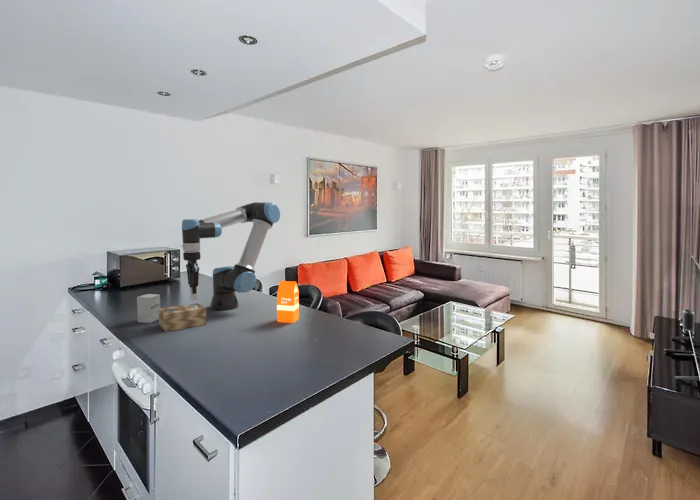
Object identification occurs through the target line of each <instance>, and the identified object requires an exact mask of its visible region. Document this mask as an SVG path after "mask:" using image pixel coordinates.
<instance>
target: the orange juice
mask: <svg viewBox="0 0 700 500" xmlns="http://www.w3.org/2000/svg"><path fill="white" fill-rule="evenodd" d="M299 294H300V291H299V286H298V283H297V281H289V280H288V281H287V280H280V281H279V284H278V289H277V293H276V322H279V323H287V324H289V323H292V324H294V323H296V321H298V320H299V317H300V316H299V315H300V313H299V312H300V311H299V310H300V307H299V306H300V298H299V297H300V295H299Z"/></svg>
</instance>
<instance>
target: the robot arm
mask: <svg viewBox="0 0 700 500" xmlns="http://www.w3.org/2000/svg"><path fill="white" fill-rule="evenodd" d="M280 218H281V210H280V207H279V206H278V204H276V203H275V202H270V201H267V202H266V201H265V202H263V201H262V202H258V201H257V202H252V203H247V204H245V205H241V206H238V207H237V208H235V209H234V210H230V211H227V212H224V213H220V214H217V215H213V216H210V217H206V218H202V219H200V220H199V219H198V218H186V219H183V220H182V221H181V234H182V236H181V237H182V245H181V247H182V251H183V254H182V255H183V257H182V259H183V261H187V263H186V264H185V268H186V275H187V284H188V285H189V292H190V294H189V295H190V296H189V297H190V301H191V302H193V301H198V286H199V275H200V267H199V264H198V263H197V262H198V261H199V260H201V252H200V251H201V239H213V238H219V237H221V235H222V233H223V228H226V227H229V226H233V225H236V224H239V223H241V224H244V223H252V224H253V225H252V228H251V229H250V230H251V231H250V233H249V236H248V238H247V241H246V244H245V246H244V249H243V251H242V253H241V256H240V259H239V261H238V263H236V264H234V266H232V265H230V266H229V265H227V266H220V267H214V269H212V288H213V290H212V292H213V293H212V298H211V300H210V309H211V310H213V311H228V310H233V309H236V308H238V307H239V301H238V297H237V296H236V295H237V294H236V292H237V293H243V294H244V293H245V294H247V293H249V292H251V291H252V290H253V289H254V287H255V286H256V283H257V277H256V270H255V265H256V263H257V260H258V257H259V254H260V253H261V249H262V246H263V244H264V241H265V239H266V236H267V234H268V231H269V230H271V229H272V228H273V225H274V224H275V223H278V222H279V221H280Z"/></svg>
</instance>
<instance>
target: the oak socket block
mask: <svg viewBox="0 0 700 500" xmlns="http://www.w3.org/2000/svg"><path fill="white" fill-rule="evenodd" d="M192 305H197V306H198V308H192V309H189V307H190V306H192ZM170 308H174V309H176V311H171V312H166V310H167V309H170ZM158 325H160V326H161V327H162V328H161V327H160V326H159V327H160V328H161V329H162V330H163V331H164V332H165V333H166V332H167V333H168V332H172V331H179V330H183V329H188V328H194V327H200V326H205V325H207V308H206V307H205V306H203V305H202V304H200V303H198V302H196V303H190V304H185V305H184V304H183V305H176V306H169V307H163V308H161V307H160V309H159V320H158Z"/></svg>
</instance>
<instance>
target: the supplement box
mask: <svg viewBox="0 0 700 500" xmlns="http://www.w3.org/2000/svg"><path fill="white" fill-rule="evenodd" d="M136 305H137V310H136V311H137V323H145V324H151V323H153V322H156V321H159V309H161V295H160V294H154V293H153V294H152V293H146V294H144V295H139V296H137V297H136Z"/></svg>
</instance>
